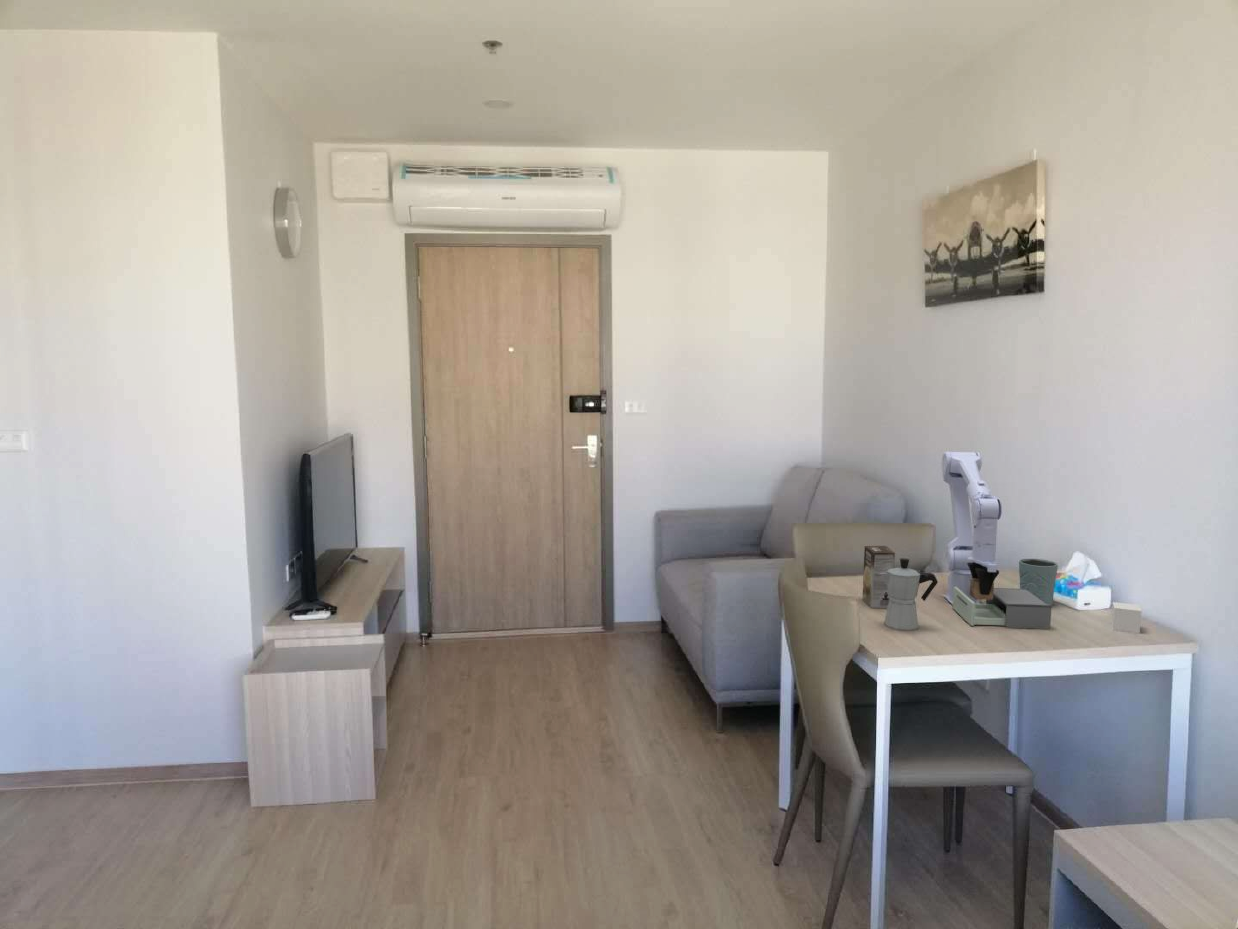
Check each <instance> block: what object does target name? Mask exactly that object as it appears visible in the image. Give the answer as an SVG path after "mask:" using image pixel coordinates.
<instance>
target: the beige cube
mask: <svg viewBox="0 0 1238 929" xmlns="http://www.w3.org/2000/svg"><path fill="white" fill-rule="evenodd" d="M1141 622H1142V609H1141V607H1140V604H1135V603H1133V604H1132V603H1124V602H1123V603H1122V602H1114V601H1112V606H1111V617H1110V625H1111V628H1112V630H1113V631H1119V632H1125V633H1134V634H1140V632H1141Z"/></svg>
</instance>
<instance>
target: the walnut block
mask: <svg viewBox="0 0 1238 929" xmlns="http://www.w3.org/2000/svg"><path fill="white" fill-rule="evenodd" d="M994 588H995V582H993V585H992V588H991V591H990V594H989V595H981V594H980V589H979V579H973V578H971V579H970V595H971V596H972V597H973V598H974V599H977V600H985V601H986V600H993V591H994Z"/></svg>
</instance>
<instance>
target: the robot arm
mask: <svg viewBox="0 0 1238 929" xmlns="http://www.w3.org/2000/svg"><path fill="white" fill-rule="evenodd" d="M981 468H982V455H981V454H980V452H978V451H971V452H970V451H948V450H947V451H945V452H944V453H943V454H942V457H941V471H942V473H941V474H942V478H943V481H944V482H945V483H947V484H948V486H949V492H950V500H951V511H952V522H953V523H952V524H953V532H954V539H952V540H951V541H950V542H948V543H947V544H946V547H945V557H944V563H945V567H946V569H947V570H948V571H950V572H948V575H947V586H946V594H943V597H944V598H945V599H946V600H947V601H948V602H949V603H950V604H951V605H952V606H953V592H954V587H957V588H958V589H959V590H961V591H962V592H963V593H964V594H965V595H966V596H968V597H969V598H970V599H971V600H972V601H973V602H974V603H975V604H981V603H980V602H979V601H978V599H974V598H973V597H972V596H971V595H970V579H971V578H973V579H979V589H980V594H981V595H989V594H990V591H991V588H992V585H993V583H995V580H996V578H997V577H998V575H999V574H1000V571H999V570H998V569H997V567H998V566H997V564H996V562H997V561H996V560H997V559H996V549H997V548H996V547H997V530H998V521H999V520H1000V519H1001V516H1002V513H1003V507H1002V502H1001V499H1000V498H999V497H996V496H994V495H993V494H992V491H991V490H990V486H989V485H988V483H987V482H986V481H985V480H982V478H981V474H980V471H981ZM969 500H970V501H969ZM970 503H971V506H970ZM972 525H973V527H972Z"/></svg>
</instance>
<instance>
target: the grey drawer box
mask: <svg viewBox="0 0 1238 929" xmlns="http://www.w3.org/2000/svg"><path fill="white" fill-rule="evenodd" d="M985 604H995V605H996V606H997V607H999V608H1000V609H1001V610H1002V611H1003V612H1005V613H1006V622H1005V625H1004V626H1005V628H1006V627H1007V628H1006V629H1028V628H1036V630H1051V624H1052V623H1051V620H1052V606H1053V605H1052V606H1051V605H1050V604H1049V603H1047V602H1046V601H1044V600H1043V599H1041V598H1040V597H1038V596H1037V595H1035V594H1034V593H1033V592H1031V591H1030V590H1028V589H1020V588H999V587H994V591H993V600H986V599H985ZM1010 627H1012V628H1010Z"/></svg>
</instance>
